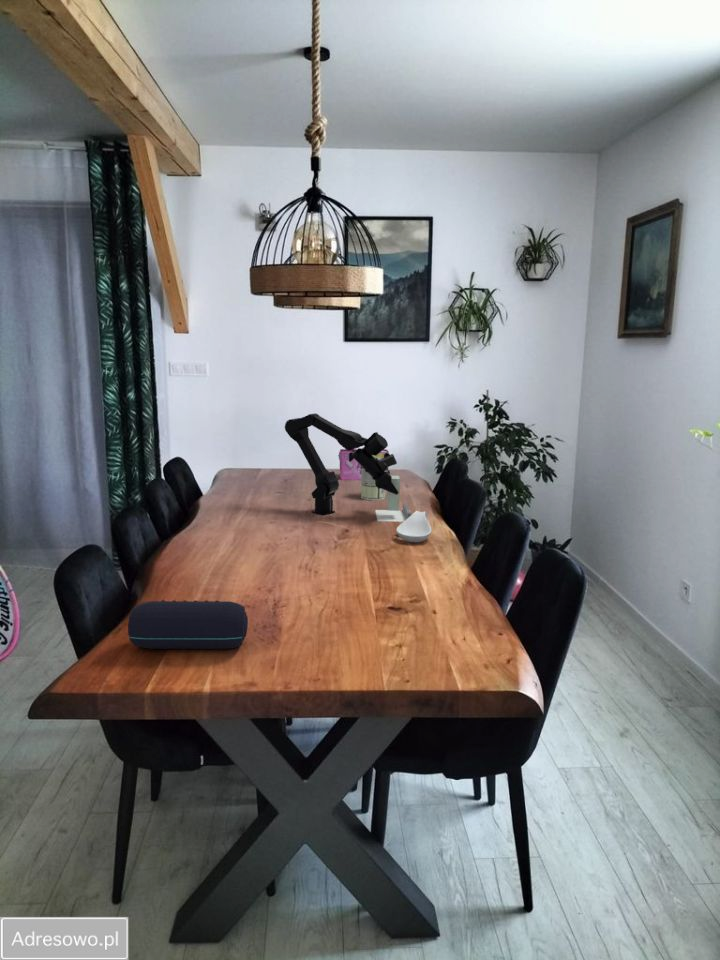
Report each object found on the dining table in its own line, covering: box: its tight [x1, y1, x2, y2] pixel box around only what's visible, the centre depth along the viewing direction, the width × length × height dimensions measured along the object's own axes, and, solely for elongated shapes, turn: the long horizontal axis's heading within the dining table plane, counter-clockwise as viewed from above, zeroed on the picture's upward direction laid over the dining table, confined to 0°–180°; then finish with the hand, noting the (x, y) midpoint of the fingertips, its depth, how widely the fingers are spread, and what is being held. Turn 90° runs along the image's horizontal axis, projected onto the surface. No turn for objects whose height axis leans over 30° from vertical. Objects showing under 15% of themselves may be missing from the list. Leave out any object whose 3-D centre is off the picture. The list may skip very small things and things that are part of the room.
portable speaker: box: [127, 599, 249, 650], centre depth 144 cm, size 25×10×10 cm, turn 92°
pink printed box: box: [337, 448, 390, 481], centre depth 318 cm, size 24×8×14 cm, turn 96°
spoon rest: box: [395, 510, 432, 543], centre depth 228 cm, size 24×12×7 cm, turn 166°
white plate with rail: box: [375, 502, 412, 523], centre depth 250 cm, size 16×12×4 cm
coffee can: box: [360, 466, 386, 501], centre depth 279 cm, size 10×10×14 cm
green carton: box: [386, 475, 401, 511], centre depth 246 cm, size 6×4×12 cm
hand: (397, 491), depth 246 cm, fingers closed on green carton, 5 cm apart
